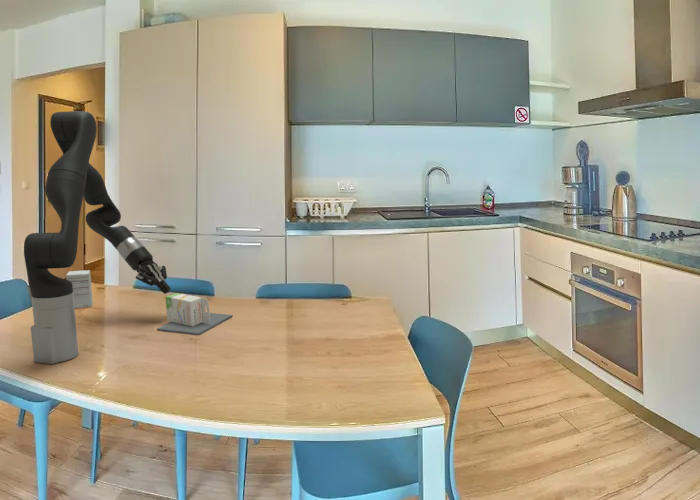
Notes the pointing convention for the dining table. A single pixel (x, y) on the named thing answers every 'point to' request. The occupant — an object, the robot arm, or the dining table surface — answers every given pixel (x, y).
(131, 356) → the dining table surface
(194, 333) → the mat
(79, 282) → the supplement box
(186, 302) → the ink box
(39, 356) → the robot arm
